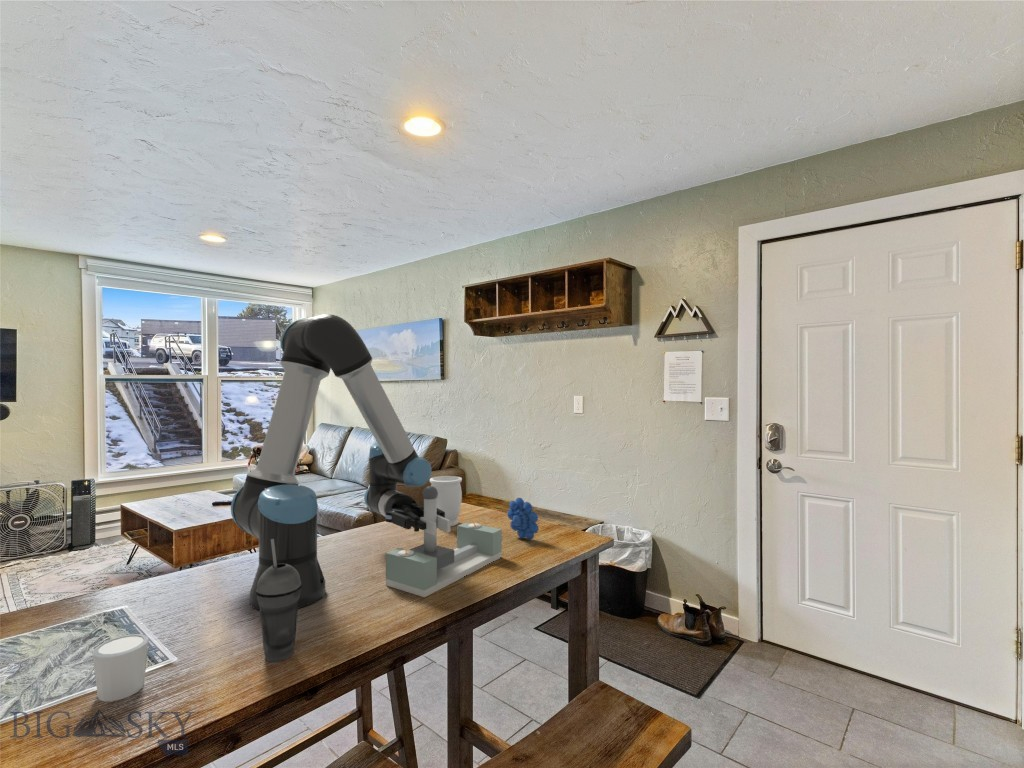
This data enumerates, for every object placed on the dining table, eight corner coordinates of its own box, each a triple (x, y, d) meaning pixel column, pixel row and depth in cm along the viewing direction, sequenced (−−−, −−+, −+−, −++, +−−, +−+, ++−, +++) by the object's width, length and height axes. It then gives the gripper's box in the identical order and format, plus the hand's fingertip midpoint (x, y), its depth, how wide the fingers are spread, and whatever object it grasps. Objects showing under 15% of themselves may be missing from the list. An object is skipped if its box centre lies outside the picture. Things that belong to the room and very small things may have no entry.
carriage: (434, 571, 116) (434, 491, 116) (405, 563, 121) (406, 486, 121) (454, 562, 122) (454, 485, 122) (426, 555, 127) (426, 481, 127)
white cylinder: (90, 710, 73) (90, 661, 73) (94, 686, 79) (94, 641, 79) (149, 693, 77) (149, 647, 77) (148, 672, 83) (148, 629, 83)
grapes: (498, 537, 153) (498, 497, 153) (513, 532, 158) (513, 494, 158) (528, 546, 146) (528, 504, 146) (543, 540, 151) (543, 499, 151)
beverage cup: (290, 667, 84) (290, 546, 84) (246, 666, 84) (246, 545, 84) (309, 644, 92) (308, 533, 91) (268, 643, 92) (268, 532, 92)
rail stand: (424, 597, 111) (424, 560, 111) (385, 585, 118) (385, 550, 118) (501, 557, 136) (501, 527, 136) (466, 549, 143) (466, 520, 143)
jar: (450, 517, 175) (450, 474, 175) (468, 524, 167) (468, 478, 167) (423, 523, 168) (423, 477, 168) (440, 530, 160) (440, 482, 160)
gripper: (425, 516, 141) (471, 537, 122) (368, 526, 131) (409, 551, 112) (425, 489, 141) (471, 506, 122) (368, 497, 131) (409, 517, 112)
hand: (441, 527), depth 117 cm, fingers closed on carriage, 3 cm apart
